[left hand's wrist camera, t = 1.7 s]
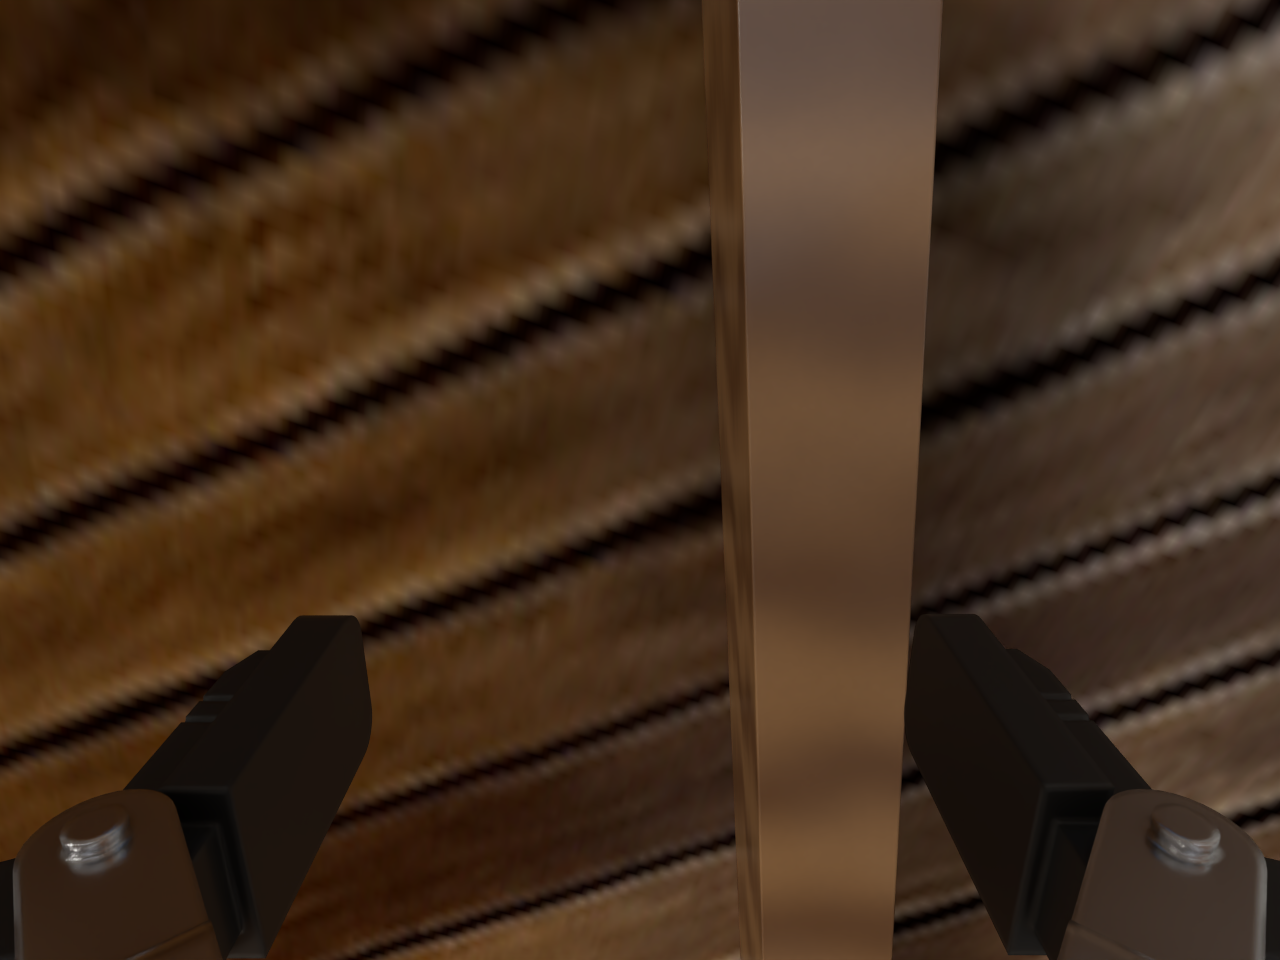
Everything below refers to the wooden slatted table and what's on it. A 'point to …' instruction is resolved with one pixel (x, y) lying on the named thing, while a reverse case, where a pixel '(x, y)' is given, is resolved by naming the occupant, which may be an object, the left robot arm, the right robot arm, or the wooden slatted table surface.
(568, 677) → the wooden slatted table surface
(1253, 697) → the wooden slatted table surface
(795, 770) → the post
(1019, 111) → the wooden slatted table surface
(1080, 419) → the wooden slatted table surface
